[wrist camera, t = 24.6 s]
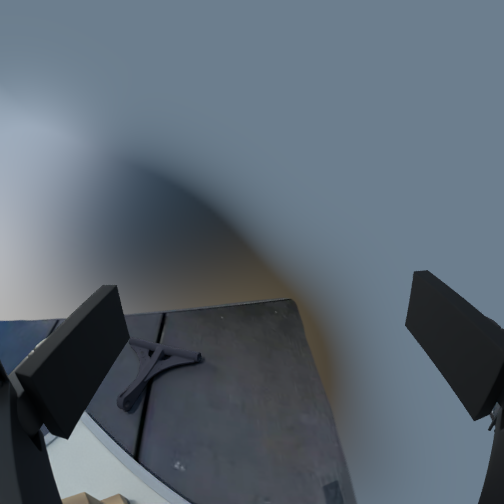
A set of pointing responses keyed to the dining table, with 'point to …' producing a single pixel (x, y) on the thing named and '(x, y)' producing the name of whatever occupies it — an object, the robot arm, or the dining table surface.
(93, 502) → the eraser
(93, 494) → the board
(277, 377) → the dining table surface
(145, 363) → the bracket
